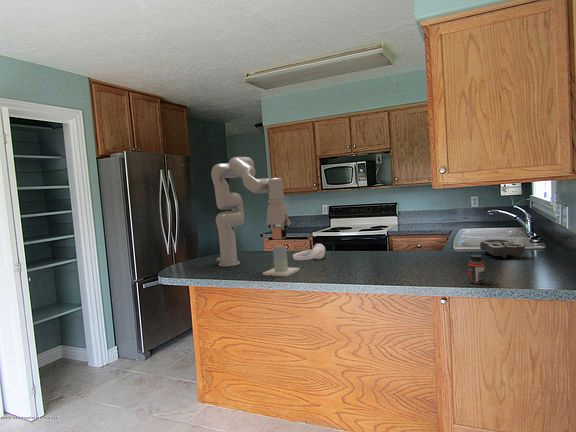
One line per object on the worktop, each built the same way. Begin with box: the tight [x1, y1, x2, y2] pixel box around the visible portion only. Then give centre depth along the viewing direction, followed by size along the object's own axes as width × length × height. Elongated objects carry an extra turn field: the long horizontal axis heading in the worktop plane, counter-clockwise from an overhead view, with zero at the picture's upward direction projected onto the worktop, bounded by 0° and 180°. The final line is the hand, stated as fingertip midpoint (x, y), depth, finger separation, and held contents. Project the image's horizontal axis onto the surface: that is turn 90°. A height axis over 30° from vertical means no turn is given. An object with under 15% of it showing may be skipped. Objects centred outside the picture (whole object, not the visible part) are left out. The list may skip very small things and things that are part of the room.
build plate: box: [262, 257, 301, 277], centre depth 210 cm, size 14×14×7 cm
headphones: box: [292, 243, 326, 261], centre depth 245 cm, size 19×8×20 cm
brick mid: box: [272, 246, 288, 261], centre depth 209 cm, size 5×5×6 cm
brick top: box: [271, 225, 287, 240], centre depth 208 cm, size 5×5×6 cm
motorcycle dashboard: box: [479, 238, 526, 260], centre depth 214 cm, size 26×16×7 cm, turn 174°
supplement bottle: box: [468, 254, 486, 285], centre depth 165 cm, size 6×6×11 cm
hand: (279, 237), depth 208 cm, fingers closed on brick top, 5 cm apart
